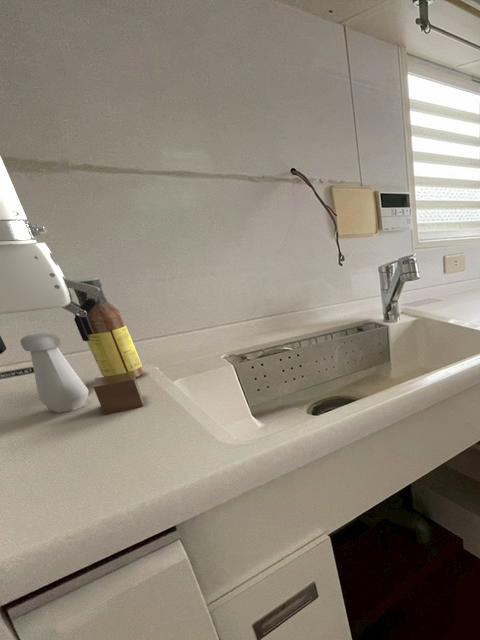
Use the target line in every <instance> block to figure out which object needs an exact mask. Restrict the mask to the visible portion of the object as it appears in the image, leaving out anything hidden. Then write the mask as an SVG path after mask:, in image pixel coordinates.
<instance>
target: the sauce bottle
mask: <svg viewBox="0 0 480 640" xmlns="http://www.w3.org/2000/svg"><path fill="white" fill-rule="evenodd" d="M72 280H73V281H77V282H81V283H85V284H89V285H93V286H97V287H99V289H100V292H99V295H98V298H97V302H96V304H95V306H94V307H93V308H92V309H91V310H90V312H89V313H88V314H87V317H88V320H89V322H90V325H91V327H92V330H93V333H94V334H92V335H90V340H89V341H86V343H87V345H88V347H89V349H90V352H91V354H92V356H93V359H94V361H95V362H96V364H97V367H98V369H99V372H100V374H101V375H102V377H106V376H112V375H117V374H123V373H128V372H134V375H135V378H136V379H137V378H140V377H141V376H142V375H144V369H143V364H142V361H141V359H140V356H139V355H138V352H137V349H136V347H135V345H134V342H133V339H132V336H131V333H130V331H129V329H128V327H127V324H125V322H124V319H123V316H122V315H121V312H120V311H119V309H117V308H116V307H115V306H114V305H113V304H111V302H110V301H108V298H106V296H105V293H104V290H103V288H102V285H103V283H102V282H101V280H100V278H98V277H83V278H77V279H72ZM72 290H73V291H74V293H75V296H76V298H77V300H78V304H79V305H80V306H81V305H82V304H83V303H84V302H85V301H86V299H87V293H86V292H83V291H79V290H75V289H72Z"/></svg>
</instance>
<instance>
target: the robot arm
mask: <svg viewBox="0 0 480 640" xmlns="http://www.w3.org/2000/svg"><path fill="white" fill-rule="evenodd" d="M47 234H48V232H47V230H46V227H45V226H44V224H36V223H32V222H30V220H28V217H27V215H26V213H25V210H24V208H23V205H22V203H21V201H20V198H19V196H18V194H17V191H16V189H15V186H14V184H13V182H12V179H11V177H10V174H9V173H8V170H7V167H6V165H5V163H4V160H3V158H2V156H1V155H0V315H6V314H7V315H8V314H17V313H27V312H35V311H44V310H52V309H53V310H54V309H60V308H61V309H64V310H66V311H68V312H69V313H71V314H73V315H74V318H73V320H74V323H75V325H76V327H77V331H78V332H79V334H80V337H81V340H82V341H83V342H87V341H89V340H90V335H92V334H94V333H93V330H92V327H91V325H90V322H89V320H88V317H87V314H88V313H89V312H90V310H91V309H92V308H93V307H94V306H95V304H96V302H97V298H98V295H99V292H100V289H99V287H97V286H93V285H89V284H85V283H81V282H77V281H73V280H74V279H70V278H66V277H65V275H64V272H63V271H62V269H61V267H60V266H59V263H58V261H57V259H56V257H55V256H54V255H53V253H52V251H51V249H50V248H49V247H48V245H47V244H46V242H45V241H41V242H40V241H39V242H38V241H37V237H38V236H41V235H47ZM73 289H75V290H79V291H83V292H86V293H87V299H86V301H85V302H84V303H83V304H82V305H81V306H80V304H79V303H77V302H75V301H73V300H74V296H73V293H72V290H73ZM6 350H7V346H6V344H5V342H4V340H3V338H2V336H1V335H0V355H1V354H4V353H5V351H6Z"/></svg>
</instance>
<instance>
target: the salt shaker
mask: <svg viewBox="0 0 480 640" xmlns="http://www.w3.org/2000/svg"><path fill="white" fill-rule="evenodd" d="M19 341H20V345H21V347H22V349H23V350H24V351H26V352H30V357H31V358H30V359H31V363H32V368H33V372H34V379H35V384H36V389H37V395H38V400H39V401H40V403H42V404H43V405H44V406H45V407H47V408H48V409H49V410H50V411H52V412H55V413H58V414H59V413H65V412H71V411H75V410H77V409H78V410H79V409H80V408H82V407H85V406H86V402H87V399H88V395H89V389H88V388H87V386H86V385H85V383H84V382H83V380H82V379H81V377H79V375H78V374H77V373H76V371H75V370H74V368H73V367H72V366H71V365H70V363H69V361H68V360H67V358H65V356H64V354H63V353H62V352H61V350H60V349H59V347H61V346H62V340H61V338H60V336H59V335H58V334H56V333H54V332H39V333H31V334H28V335H25V336H23V337H21V339H20V340H19Z"/></svg>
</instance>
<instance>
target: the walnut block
mask: <svg viewBox="0 0 480 640" xmlns="http://www.w3.org/2000/svg"><path fill="white" fill-rule="evenodd" d="M93 390H94V392H95V395H96V397H97V400H98V402H99V405H100V408H101V410H102V412H103V414H104V415H110V414H113V413H118V412H124V411H128V410H132V409H136V408H140V407H144V399H143V395H142V392H141V389H140V386H139V384H138V381H137V378H135V375H134V372H128V373H123V374H117V375H112V376H106V377H104V376H101V377H95V378H94V382H93Z"/></svg>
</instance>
